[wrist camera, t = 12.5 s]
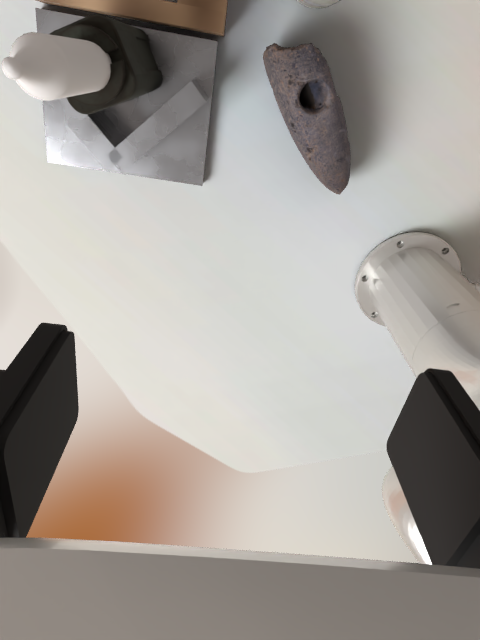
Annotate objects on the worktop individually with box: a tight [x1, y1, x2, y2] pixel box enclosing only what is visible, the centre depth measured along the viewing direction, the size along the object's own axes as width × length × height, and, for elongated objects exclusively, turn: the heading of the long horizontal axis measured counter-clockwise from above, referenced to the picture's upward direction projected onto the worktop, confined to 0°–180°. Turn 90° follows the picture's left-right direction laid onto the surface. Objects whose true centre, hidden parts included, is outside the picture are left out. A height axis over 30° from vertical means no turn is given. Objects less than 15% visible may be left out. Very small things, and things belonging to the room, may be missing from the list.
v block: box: [36, 8, 218, 186], centre depth 39 cm, size 16×13×6 cm
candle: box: [2, 14, 162, 115], centre depth 29 cm, size 5×5×25 cm
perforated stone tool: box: [263, 43, 351, 194], centre depth 40 cm, size 15×5×7 cm, turn 25°
